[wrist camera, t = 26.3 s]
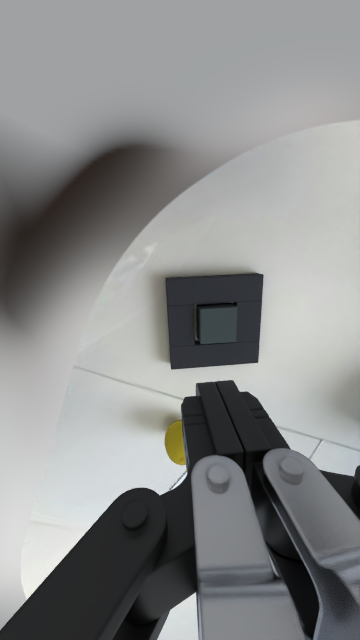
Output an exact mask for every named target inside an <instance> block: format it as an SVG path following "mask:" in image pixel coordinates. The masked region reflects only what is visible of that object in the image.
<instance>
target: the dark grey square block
mask: <svg viewBox="0 0 360 640" xmlns="http://www.w3.org/2000/svg"><path fill="white" fill-rule="evenodd" d="M236 331H237V307H236V306H235V305H234V304H232V303H216V304H197V336H198V339H199V341H200V344H212V343H227V342H236Z"/></svg>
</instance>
